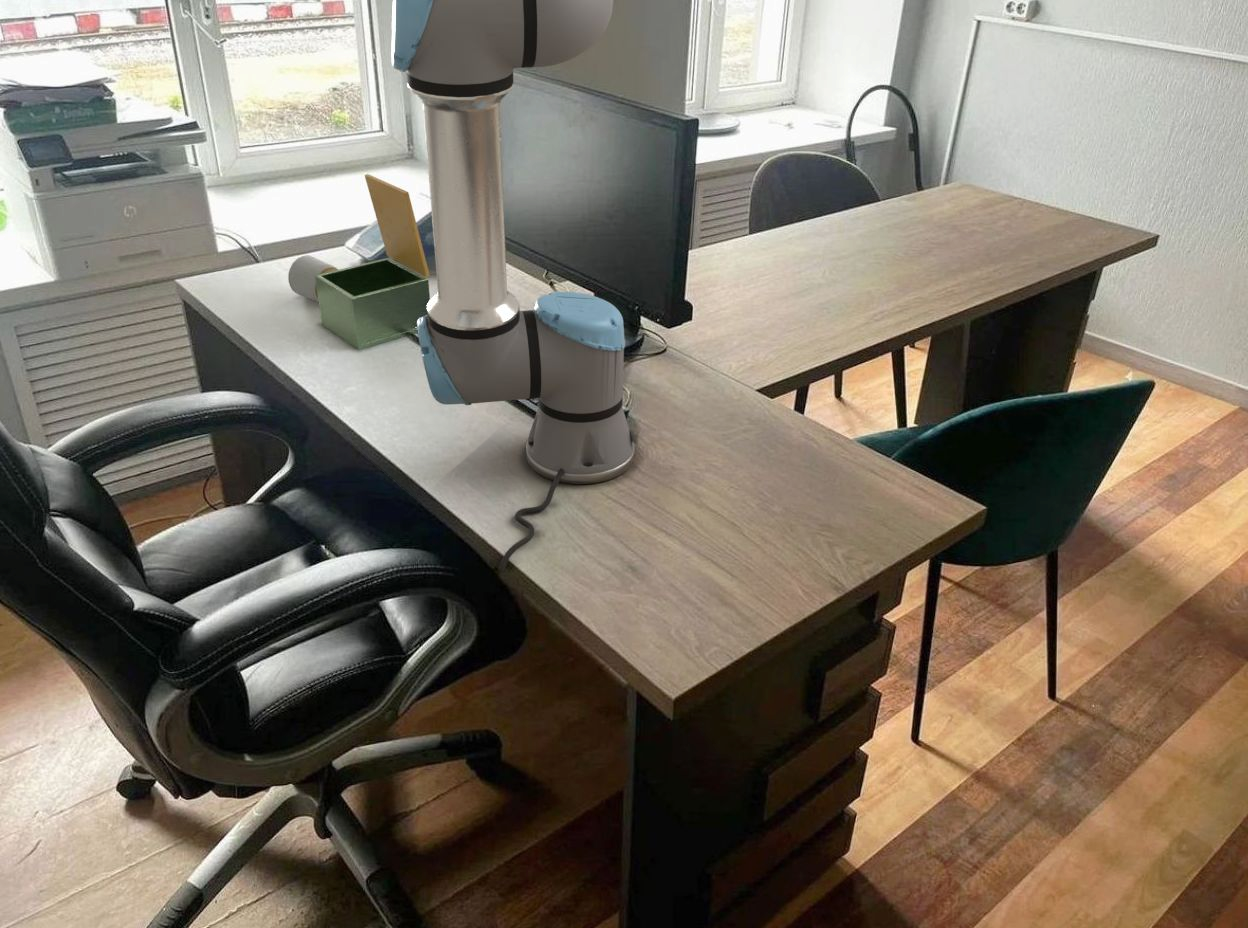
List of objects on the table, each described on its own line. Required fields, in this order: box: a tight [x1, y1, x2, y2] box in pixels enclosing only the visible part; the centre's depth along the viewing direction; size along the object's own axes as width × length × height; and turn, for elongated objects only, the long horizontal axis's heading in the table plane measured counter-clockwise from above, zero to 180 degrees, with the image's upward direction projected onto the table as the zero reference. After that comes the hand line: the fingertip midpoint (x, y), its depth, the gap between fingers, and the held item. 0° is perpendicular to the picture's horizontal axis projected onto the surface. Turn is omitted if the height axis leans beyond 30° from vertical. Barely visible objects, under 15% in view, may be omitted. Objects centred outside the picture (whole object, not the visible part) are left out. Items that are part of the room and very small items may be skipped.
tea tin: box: [315, 257, 431, 351], centre depth 177 cm, size 15×14×9 cm
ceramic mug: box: [287, 254, 340, 303], centre depth 188 cm, size 11×8×8 cm
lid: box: [364, 173, 431, 278], centre depth 173 cm, size 15×14×1 cm
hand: (452, 184), depth 164 cm, fingers closed
